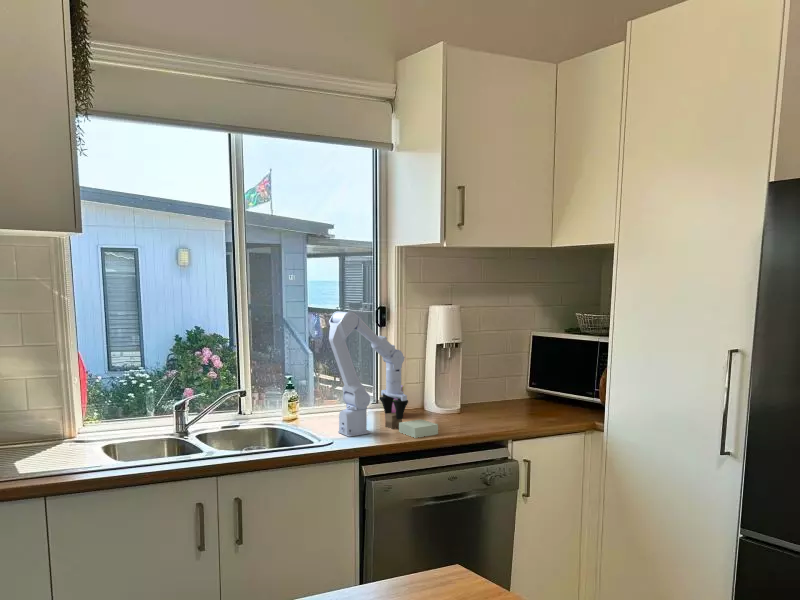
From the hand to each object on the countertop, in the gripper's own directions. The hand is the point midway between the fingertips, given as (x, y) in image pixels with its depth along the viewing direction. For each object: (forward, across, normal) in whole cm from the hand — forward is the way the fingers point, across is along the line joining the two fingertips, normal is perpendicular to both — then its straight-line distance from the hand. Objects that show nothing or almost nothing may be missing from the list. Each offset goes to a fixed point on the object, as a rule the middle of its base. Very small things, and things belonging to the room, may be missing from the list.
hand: (393, 417), depth 224 cm
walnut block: (+4, 0, 0) cm, 4 cm away
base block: (+4, -13, -2) cm, 14 cm away
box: (+4, +16, -11) cm, 20 cm away
